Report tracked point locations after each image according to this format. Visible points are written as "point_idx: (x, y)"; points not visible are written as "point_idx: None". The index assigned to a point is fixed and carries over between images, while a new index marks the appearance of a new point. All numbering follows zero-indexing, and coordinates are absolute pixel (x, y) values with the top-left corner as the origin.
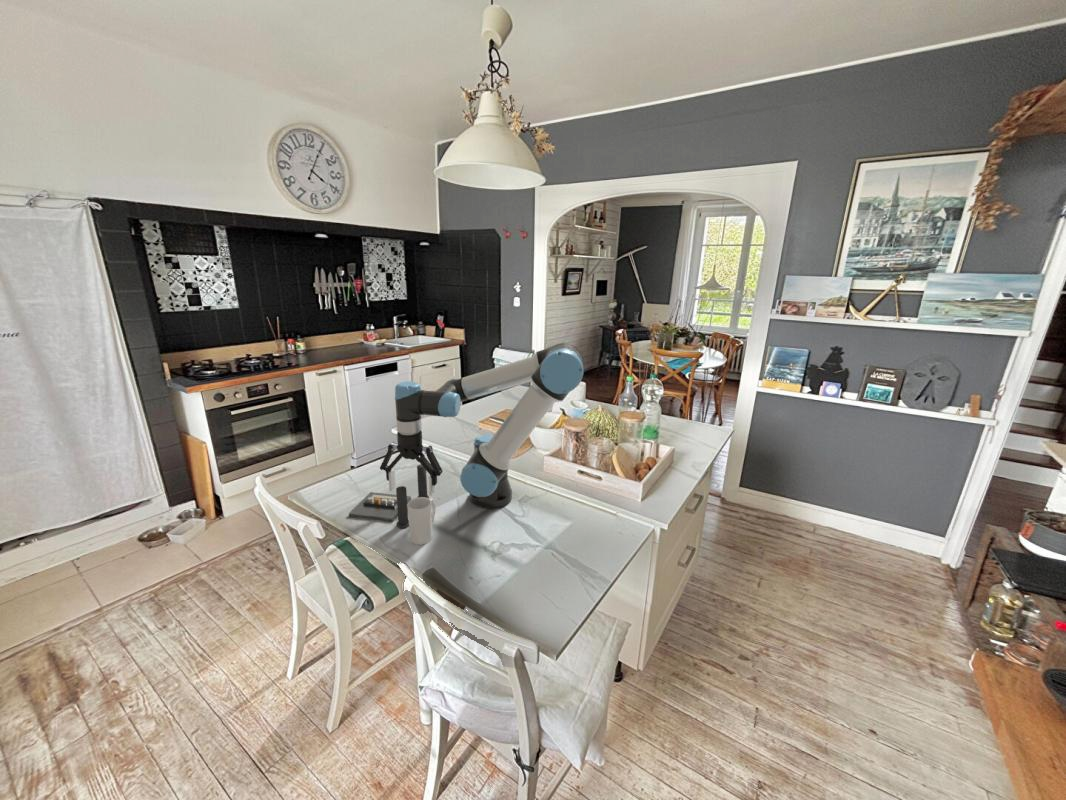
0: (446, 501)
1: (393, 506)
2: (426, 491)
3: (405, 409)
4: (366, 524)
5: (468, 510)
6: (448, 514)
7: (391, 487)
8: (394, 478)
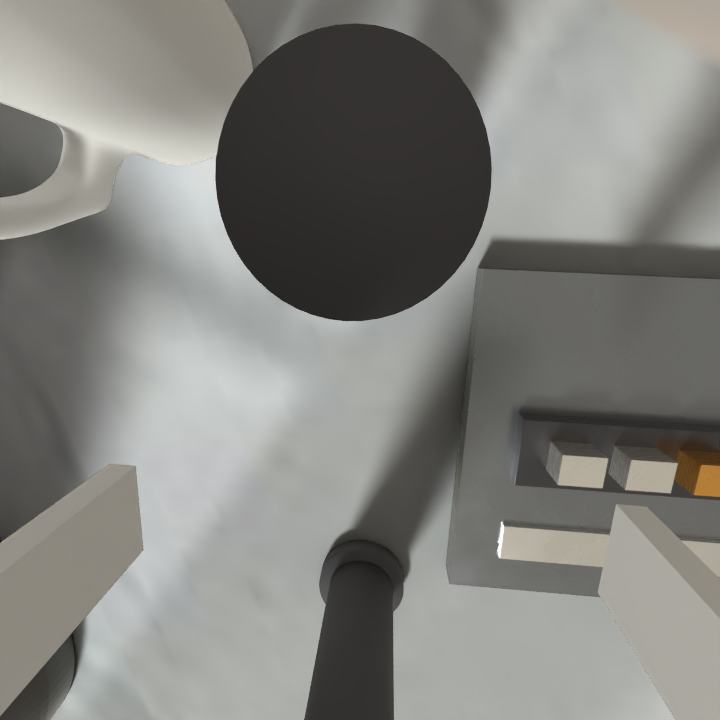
0: (195, 564)
1: (533, 420)
2: (322, 626)
3: None
4: (683, 198)
5: (12, 478)
6: (117, 417)
7: (646, 536)
8: (682, 713)
